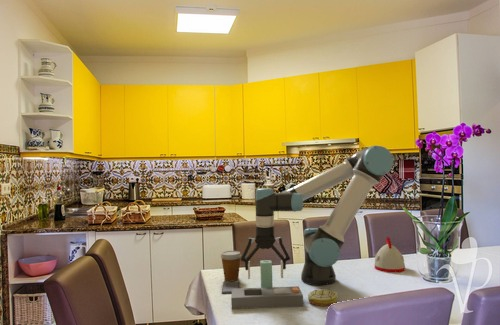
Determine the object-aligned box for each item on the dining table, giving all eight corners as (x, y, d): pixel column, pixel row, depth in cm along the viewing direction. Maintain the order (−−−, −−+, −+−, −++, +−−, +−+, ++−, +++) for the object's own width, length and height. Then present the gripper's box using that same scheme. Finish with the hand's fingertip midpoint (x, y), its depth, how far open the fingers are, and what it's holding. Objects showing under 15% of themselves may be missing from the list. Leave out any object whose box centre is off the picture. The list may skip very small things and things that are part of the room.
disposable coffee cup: (239, 282, 160) (238, 255, 160) (218, 281, 162) (217, 255, 162) (243, 276, 169) (243, 250, 169) (224, 275, 171) (223, 250, 171)
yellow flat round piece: (310, 296, 141) (310, 286, 141) (338, 298, 137) (338, 288, 138) (306, 305, 131) (305, 295, 131) (336, 308, 128) (335, 298, 128)
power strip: (298, 296, 140) (298, 284, 140) (303, 306, 130) (302, 293, 130) (232, 299, 139) (231, 286, 139) (231, 309, 129) (231, 295, 129)
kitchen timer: (401, 265, 181) (400, 235, 181) (408, 273, 167) (407, 240, 168) (372, 264, 183) (371, 235, 184) (377, 272, 170) (376, 240, 170)
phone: (239, 284, 159) (239, 281, 159) (238, 294, 146) (238, 291, 146) (223, 285, 159) (223, 282, 159) (221, 295, 146) (221, 292, 146)
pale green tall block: (271, 288, 150) (270, 259, 150) (272, 292, 146) (271, 262, 146) (261, 289, 150) (260, 260, 150) (261, 293, 145) (260, 263, 146)
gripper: (293, 224, 152) (294, 274, 152) (234, 225, 152) (235, 275, 151) (296, 226, 145) (297, 279, 144) (234, 227, 144) (235, 280, 144)
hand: (265, 277), depth 148 cm, fingers open, 13 cm apart
